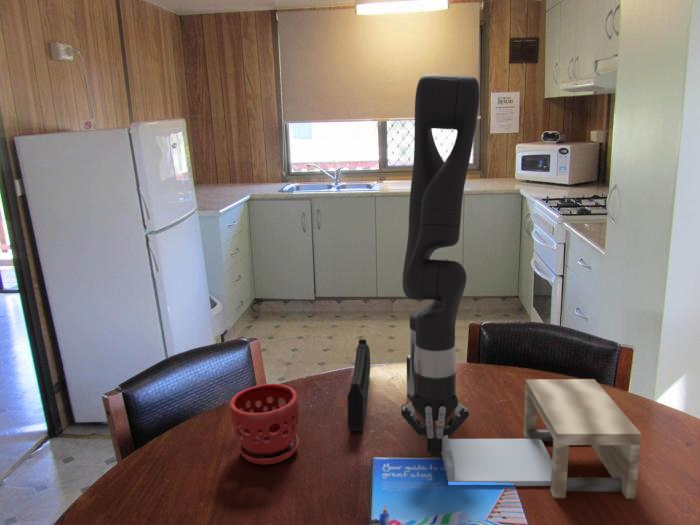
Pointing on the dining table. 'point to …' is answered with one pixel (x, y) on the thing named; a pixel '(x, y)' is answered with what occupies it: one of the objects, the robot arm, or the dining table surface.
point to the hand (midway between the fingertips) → (434, 453)
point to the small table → (583, 433)
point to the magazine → (359, 388)
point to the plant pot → (266, 423)
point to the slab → (497, 461)
